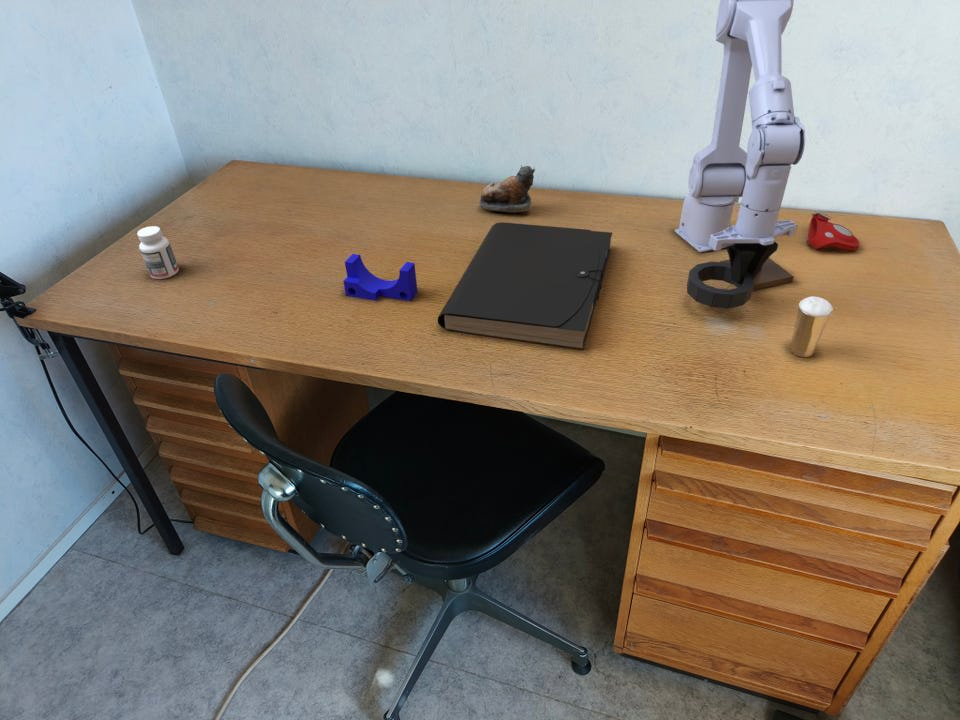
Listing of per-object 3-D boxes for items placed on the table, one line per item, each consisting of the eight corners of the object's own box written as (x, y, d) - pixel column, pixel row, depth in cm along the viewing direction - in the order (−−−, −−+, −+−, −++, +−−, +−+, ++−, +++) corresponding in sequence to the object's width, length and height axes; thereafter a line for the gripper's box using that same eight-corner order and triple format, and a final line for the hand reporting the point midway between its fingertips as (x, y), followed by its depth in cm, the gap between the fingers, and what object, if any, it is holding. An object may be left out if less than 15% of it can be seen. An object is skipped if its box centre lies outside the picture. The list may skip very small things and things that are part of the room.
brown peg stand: (718, 266, 121) (725, 234, 117) (760, 258, 123) (769, 225, 119) (748, 291, 114) (756, 257, 110) (792, 282, 116) (802, 248, 112)
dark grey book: (586, 329, 100) (436, 310, 106) (584, 350, 103) (438, 331, 109) (613, 230, 125) (491, 219, 131) (612, 250, 127) (491, 238, 133)
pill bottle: (168, 263, 129) (153, 221, 123) (184, 270, 126) (170, 228, 121) (144, 275, 126) (127, 233, 120) (160, 282, 123) (144, 240, 118)
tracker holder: (872, 240, 125) (845, 243, 119) (856, 259, 128) (830, 263, 122) (822, 204, 131) (795, 206, 126) (808, 223, 134) (781, 225, 128)
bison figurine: (475, 214, 141) (474, 169, 135) (484, 200, 147) (483, 156, 140) (530, 219, 139) (531, 174, 132) (537, 205, 144) (538, 160, 138)
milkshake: (806, 366, 98) (826, 310, 92) (778, 347, 102) (795, 292, 96) (828, 357, 100) (849, 301, 93) (799, 339, 103) (818, 284, 97)
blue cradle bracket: (345, 295, 118) (340, 266, 114) (357, 282, 121) (352, 253, 117) (407, 305, 114) (403, 276, 111) (417, 292, 118) (414, 263, 114)
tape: (675, 282, 112) (678, 267, 110) (726, 271, 114) (730, 257, 113) (708, 313, 105) (711, 298, 103) (762, 301, 107) (766, 286, 105)
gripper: (734, 222, 96) (717, 300, 105) (818, 206, 100) (794, 283, 108) (708, 203, 102) (693, 278, 110) (788, 188, 105) (767, 263, 113)
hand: (741, 279), depth 109 cm, fingers closed on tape
